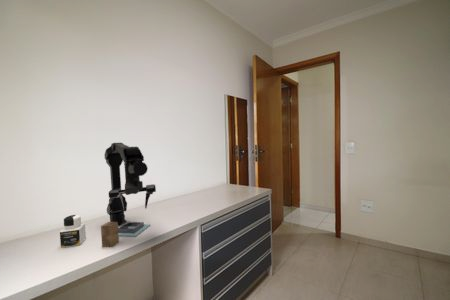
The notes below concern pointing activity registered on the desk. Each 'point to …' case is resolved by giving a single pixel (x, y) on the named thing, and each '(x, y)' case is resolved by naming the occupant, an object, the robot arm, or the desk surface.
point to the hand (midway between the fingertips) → (134, 209)
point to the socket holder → (132, 229)
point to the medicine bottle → (72, 231)
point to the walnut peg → (109, 234)
